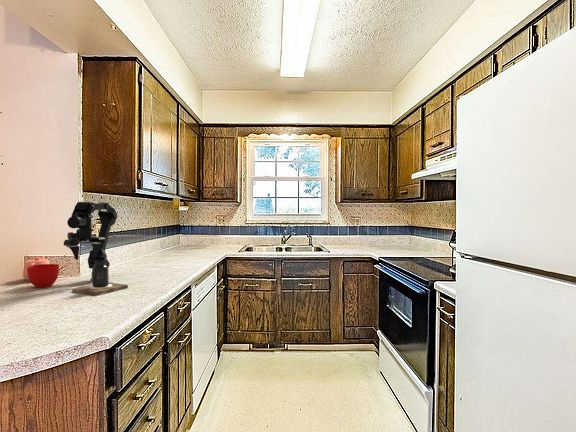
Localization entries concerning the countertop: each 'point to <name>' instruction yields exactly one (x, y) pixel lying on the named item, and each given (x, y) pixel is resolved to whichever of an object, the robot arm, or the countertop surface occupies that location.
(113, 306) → the countertop surface
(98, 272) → the supplement bottle
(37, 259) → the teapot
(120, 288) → the walnut board
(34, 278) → the ceramic cup
